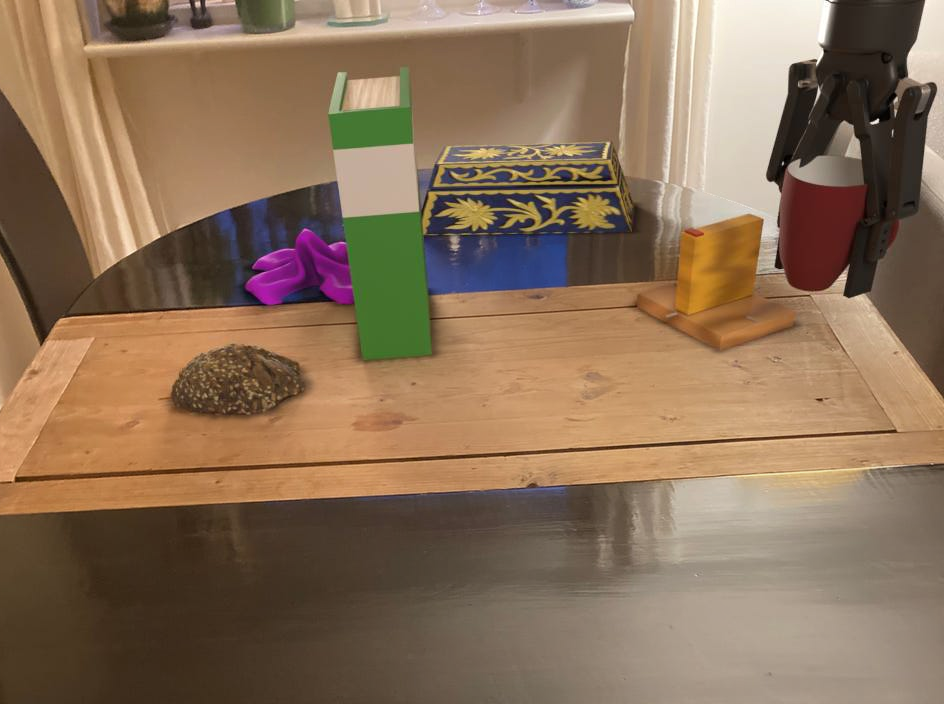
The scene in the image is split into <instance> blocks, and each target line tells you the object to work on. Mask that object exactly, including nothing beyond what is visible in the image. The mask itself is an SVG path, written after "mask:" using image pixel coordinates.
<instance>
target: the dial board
mask: <svg viewBox="0 0 944 704" xmlns="http://www.w3.org/2000/svg"><path fill="white" fill-rule="evenodd" d="M762 288H763V286H762V285H758V286H754V291H757V290H760V289H762ZM676 291H677V281H675V282H672V283H668V284H664V285H662V286H658V287H656V288H652V289H649V290H645V291H642V292H638V293H637V300H636V308H638V309H640V310H641V311H644V313H647V314H649V315H651V316H653V317H655V318H657V319H659V320H660V321H662V322H665V323H666V324H668V325H670V326H672V327H674V328H676V329H678V330H680V331H681V332H684V333H685V334H688V335H690V336H692V337H693V338H695V339H697V340H699V341H702V342H703V343H704V344H707V345H709V346H710V347H712V348H714V349H716V350H718V351H722V350H725V349H728V348H731V347H734V346H738V345H740V344H743V343H746V342H749V341H752V340H755V339H758V338H761V337H764V336H767V335H769V334H774V333H775V332H779V331H782V330H785V329H788V328H791V327H793V326H794V322H795V316H796V311H795V310H793V309H790V308H788V307H786V306H784V305H783V304H782V305H781V304H779V303H777V302H775V301H774V300H773V301H772V300H771V299H768V298H766V297H763V296H762V295H759V294H757V293H754V292H753V295H750V296H747V297H744V298H741V299H738V300H735V301H731V302H728V303H725V304H722V305H719V306H716V307H712V308H709V309H706V310H703V311H700V312H696V313H693V314H690V315H687V314H685V313H683V312H681V311H679V310H677V309H675V303H676Z"/></svg>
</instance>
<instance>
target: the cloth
mask: <svg viewBox="0 0 944 704" xmlns="http://www.w3.org/2000/svg"><path fill="white" fill-rule="evenodd" d="M251 269H252V270H259V271H264V272H261V273H259V274H255V275H254V276H253V277H251V278H250V279H249V280H248V281H246V284H245V287H244V289H245V290H246V291H247V292H249V293H250V294H252V295H253V296H254V297H255V298H257V299H258V300H259V301H260V302H261V303H262V304H265V305H267V306H274V305H278V304H283V302H282V299H283V298H285V297H286V296H289V295H291V294H293V293H295V292H298V291H301V290H303V289H305V288H309V287H311V286H317V287H318V288H319V292H320V293H323V294H324V296H326V297H327V298H328V299H330V300H332V301H335V302H336V303H337V304H339V305H352V304H353V303H355V302H354V295H353V288H352V281H351V274H350V267H349V259H348V252H347V245H346V242H344V241H339V242H334V243H332V244H330V245H328V243H326V242H325V241H324V240H323V239H322V238H320V237H319V236H317V234H315V233H314V232H313V231H312V230H309V229H307V228H304V229H303V230H302V231H300V233H299V234H298V236H297V237H296V239H295V247H294V248H283V249H279V250H276V251H273V252H271V253H268V254H266V255H264V256H262V257H260V258H259V259H257V261H256V262H255V263H254V265H253V266H252V268H251Z"/></svg>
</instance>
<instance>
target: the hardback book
mask: <svg viewBox="0 0 944 704" xmlns="http://www.w3.org/2000/svg"><path fill="white" fill-rule="evenodd" d="M411 89H412V87H411V77H410V66H400V67H399V75H398V76H397V75H395V76H385V77H371V78H359V79H348V72H347V71H339V72H337V74H336V78H335V83H334V87H333V92H332V95H331V100H330V104H329V108H328V113H327V117H328V122H329V131H330V138H331V144H332V151H333V158H334V166H335V173H336V174H335V175H336V181H337V188H338V195H339V202H340V209H341V216H342V222H343V229H344V237H345V243H346V245H347V252H348V259H349V267H350V274H351V281H352V288H353V295H354V302H353V303H354V309H355V316H356V322H357V323H356V324H357V329H358V331H357V332H358V335H359V336H358V338H359V344H360V351H361V358H362V361H369V360H381V359H393V358H394V359H395V358H405V357H418V356H419V357H420V356H431V355H433V349H432V333H431V332H432V330H431V314H430V296H429V283H428V272H427V271H428V270H427V260H426V248H425V237H424V236H425V235H423V224H422V213H421V211H422V204H421V191H420V180H419V168H418V156H417V145H416V144H417V143H416V135H415V134H416V133H415V123H414V111H413V101H412V90H411Z"/></svg>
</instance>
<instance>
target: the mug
mask: <svg viewBox="0 0 944 704" xmlns="http://www.w3.org/2000/svg"><path fill="white" fill-rule="evenodd" d="M800 160H801V159H798V160H795V161H793V162H791V163H790V164H789V165H788V166H787V169H786V173H785V178H784V182H783V187H782V193H780V199H781V201H780V200H779V205H780V228H779V233H780V242H779V250H780V258H781V262H782V266H783V269H782V270H783V272H784V275H785V278H786V281H787V283H788V285H789V286H790V287H792V288H794V289H796V290H800V291H804V292H822V291H826V290H828V289H830V288H831V287H832V286H833V285H834V284H835V282H837V280H838V279H839V278H840V277H841V276H842V274H843V273H844V272H845V270H846V269H847V268H849V264H850V260H851V255H852V250H853V245H854V240H855V236H856V231H857V226H858V221H861V220H863V219H866V218H868V217H867V207H866V198H865V195H866V190H867V185H868V184H864V179H863V169H862V160H861V158H856V157H850V156H844V155H830V154H829V155H825V154H823V156H817V157H816V158H815V159H814V160H813V161H811V162H810V163H809V164H807V165H806V166H804V167H801V168H799V166H800ZM882 206H883V204H882ZM899 227H900V220H897V221H894V223H893V225H892V230H891V234H890V238H889V241H888V242H889V243H888V246H887V250H888V249H889V248H890V247H891V246H892V245H893V243H894V242H895V240H896V238H897V236H898V233H899Z"/></svg>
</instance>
